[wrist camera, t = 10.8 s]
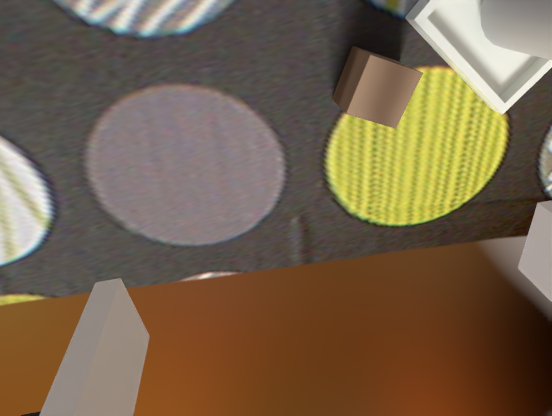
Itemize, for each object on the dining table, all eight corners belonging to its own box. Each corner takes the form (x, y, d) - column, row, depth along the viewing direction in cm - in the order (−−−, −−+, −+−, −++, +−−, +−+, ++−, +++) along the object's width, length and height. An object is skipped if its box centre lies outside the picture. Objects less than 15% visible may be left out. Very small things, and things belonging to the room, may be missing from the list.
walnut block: (331, 98, 36) (345, 113, 32) (352, 45, 34) (370, 54, 29) (376, 111, 37) (395, 128, 33) (399, 61, 35) (422, 72, 31)
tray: (404, 17, 33) (414, 19, 31) (540, -148, 28) (560, -156, 26) (490, 108, 38) (502, 114, 37) (616, -15, 33) (636, -15, 32)
